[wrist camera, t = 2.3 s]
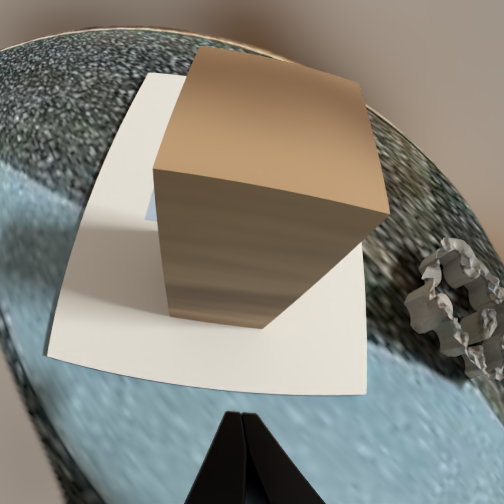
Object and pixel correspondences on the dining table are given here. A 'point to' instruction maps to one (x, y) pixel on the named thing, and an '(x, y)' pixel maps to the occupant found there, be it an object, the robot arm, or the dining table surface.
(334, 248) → the oak block
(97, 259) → the mat
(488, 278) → the egg carton
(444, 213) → the dining table surface
